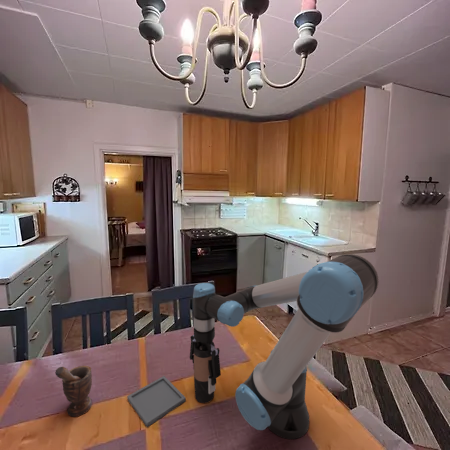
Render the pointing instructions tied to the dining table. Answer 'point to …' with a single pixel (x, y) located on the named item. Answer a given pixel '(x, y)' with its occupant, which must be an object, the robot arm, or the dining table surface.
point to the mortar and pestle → (76, 388)
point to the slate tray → (156, 400)
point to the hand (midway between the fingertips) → (204, 385)
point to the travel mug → (202, 374)
